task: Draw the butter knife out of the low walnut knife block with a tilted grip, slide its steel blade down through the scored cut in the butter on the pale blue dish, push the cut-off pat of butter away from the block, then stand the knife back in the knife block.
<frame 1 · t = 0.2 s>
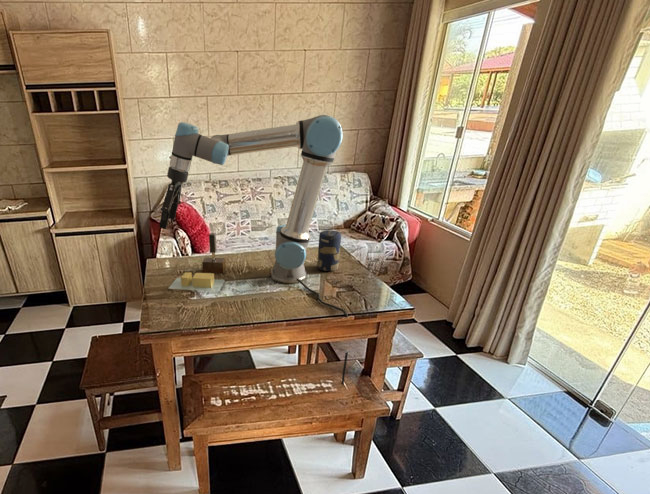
hand: (167, 223, 161), 28 cm above the table, tool tilted 20°, fingers open, 13 cm apart
knife: (214, 270, 188), point 1 cm above the table, touching knife block
butter block: (203, 284, 174), point 1 cm above the table, touching butter dish
butter pat: (186, 283, 175), point 1 cm above the table, touching butter dish
butter dish: (197, 286, 175), on the table
knife block: (214, 272, 188), on the table
canister: (327, 269, 187), on the table
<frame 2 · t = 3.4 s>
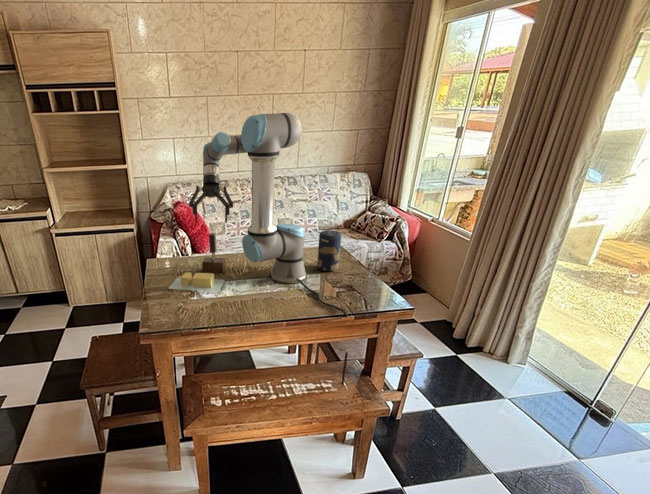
hand: (211, 221, 184), 22 cm above the table, tool tilted 35°, fingers open, 13 cm apart
nothing on the table moved.
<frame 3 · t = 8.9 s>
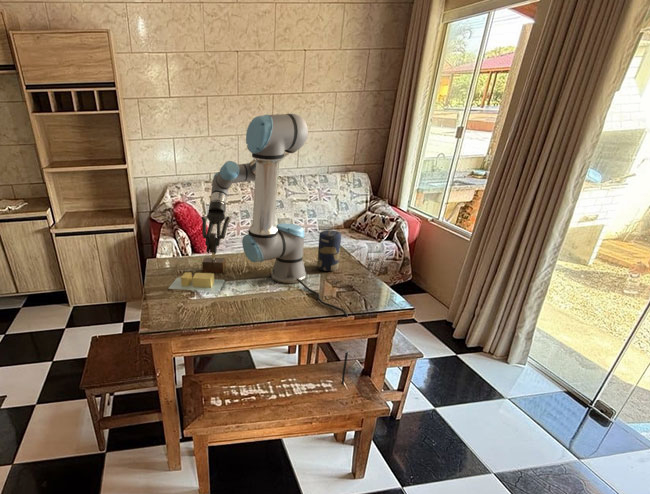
hand: (211, 252, 179), 11 cm above the table, tool tilted 45°, fingers closed on knife, 2 cm apart
knife: (214, 270, 188), point 1 cm above the table, touching gripper
everything else where it was.
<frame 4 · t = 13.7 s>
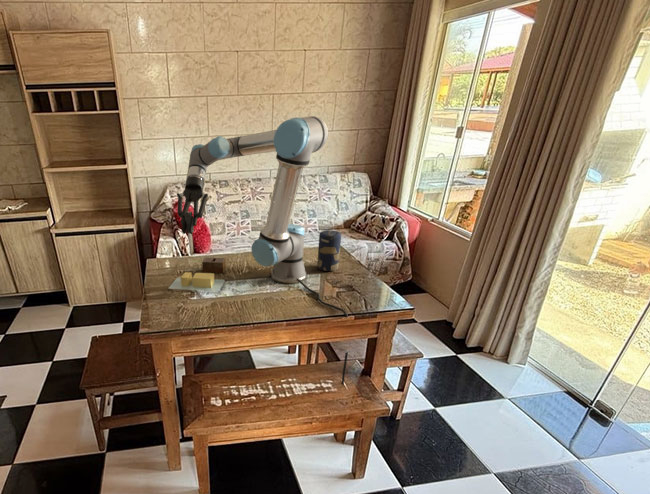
hand: (187, 232, 161), 24 cm above the table, tool tilted 45°, fingers closed on knife, 2 cm apart
knife: (191, 253, 170), point 14 cm above the table, touching gripper
everything else where it was.
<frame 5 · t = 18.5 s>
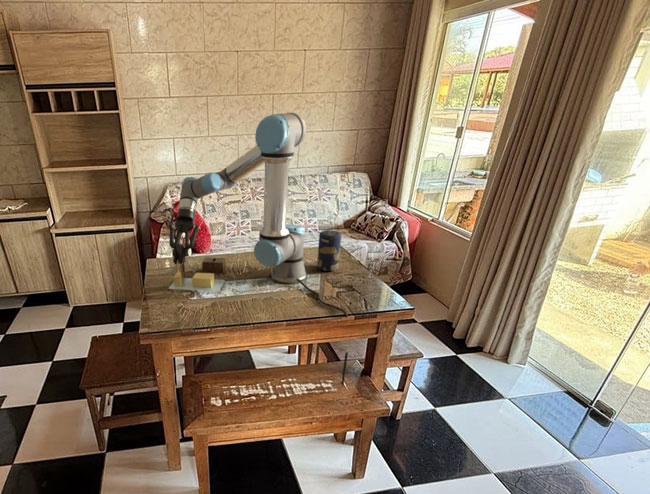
hand: (178, 263, 167), 12 cm above the table, tool tilted 45°, fingers closed on knife, 2 cm apart
knife: (183, 282, 175), point 2 cm above the table, touching butter pat, gripper
butter pat: (179, 283, 176), point 1 cm above the table, touching butter dish, knife
everything else where it was.
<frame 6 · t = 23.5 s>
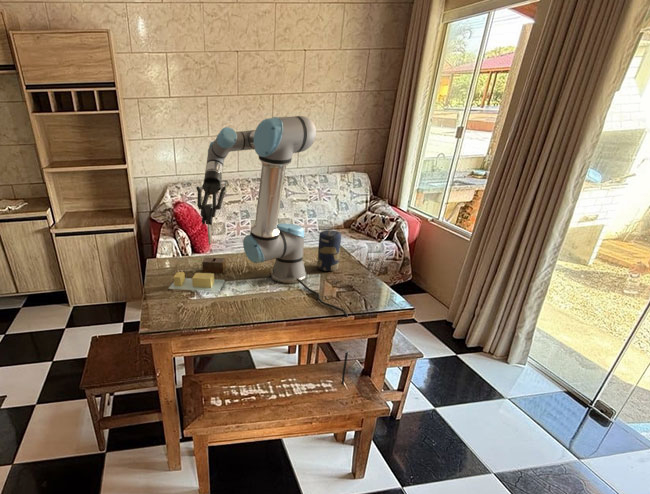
hand: (206, 223, 172), 24 cm above the table, tool tilted 45°, fingers closed on knife, 2 cm apart
knife: (210, 243, 180), point 14 cm above the table, touching gripper
butter pat: (179, 283, 176), point 1 cm above the table, touching butter dish
everything else where it was.
when the fingers open (11 cm above the table, at t = 27.2 s): knife stays where it is, resting on knife block.
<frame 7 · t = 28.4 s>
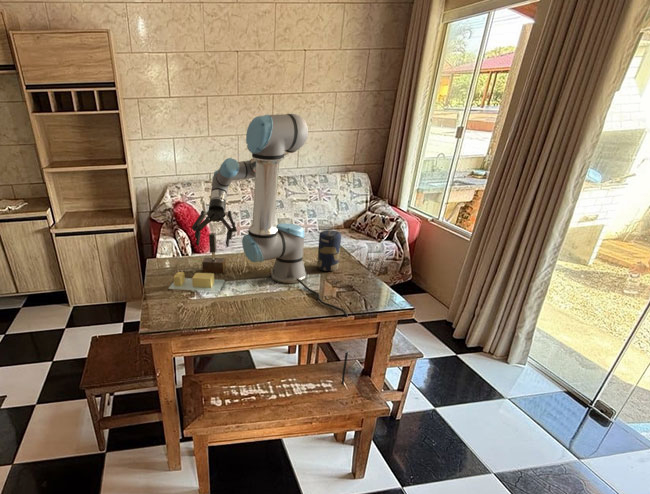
hand: (212, 244, 180), 14 cm above the table, tool tilted 45°, fingers open, 13 cm apart
knife: (214, 270, 188), point 1 cm above the table, touching knife block
everything else where it was.
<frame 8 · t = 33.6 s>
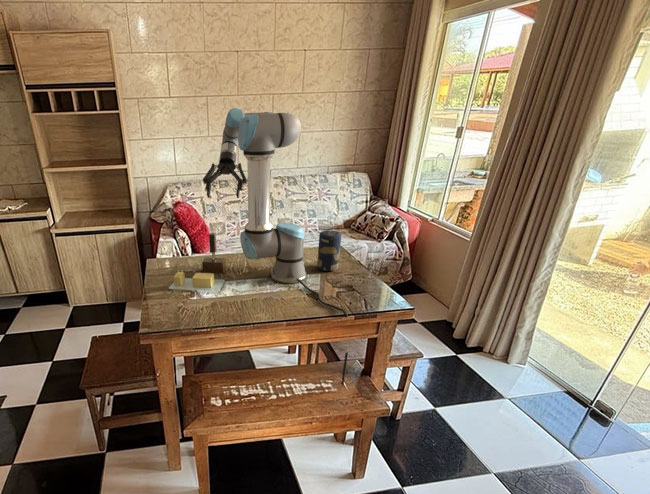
hand: (222, 196, 183), 32 cm above the table, tool tilted 45°, fingers open, 13 cm apart
nothing on the table moved.
at the end: butter pat moved 3.2 cm from its start; butter block moved 0.0 cm from its start; butter pat touching butter dish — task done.
